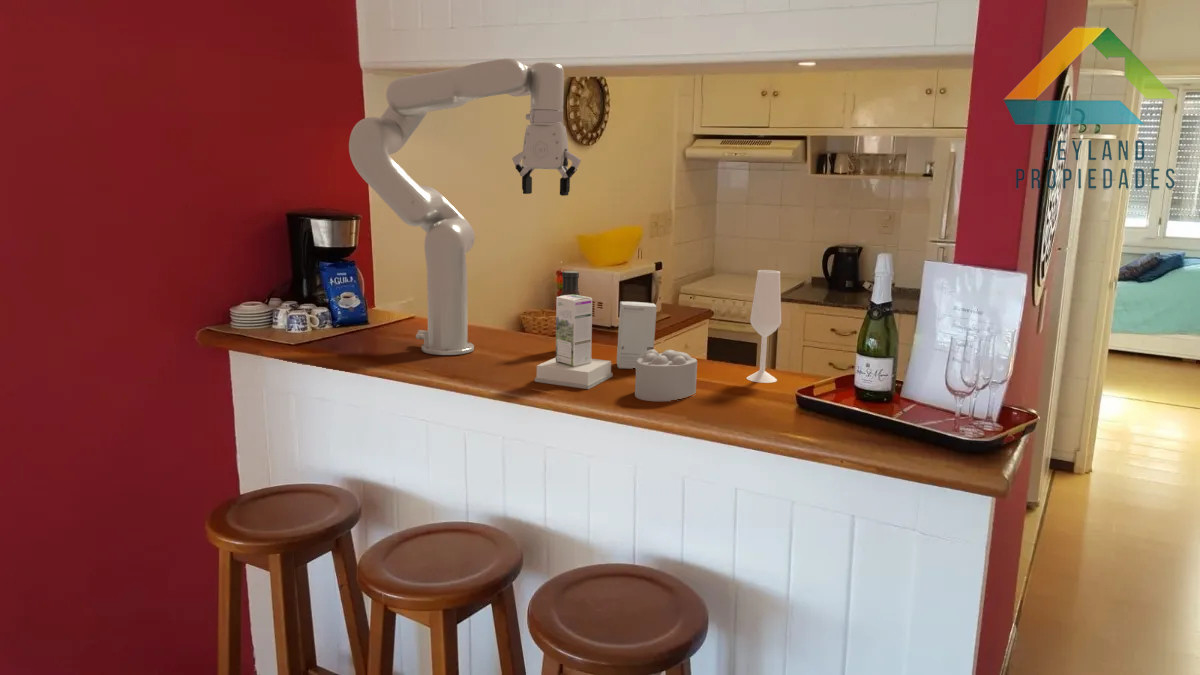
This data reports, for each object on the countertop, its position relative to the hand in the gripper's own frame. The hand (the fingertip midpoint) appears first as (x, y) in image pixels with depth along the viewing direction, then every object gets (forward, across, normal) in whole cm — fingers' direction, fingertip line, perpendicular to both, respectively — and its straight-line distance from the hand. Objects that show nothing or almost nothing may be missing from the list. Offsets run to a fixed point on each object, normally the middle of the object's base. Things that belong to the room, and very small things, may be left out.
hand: (545, 194), depth 202 cm
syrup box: (+35, +17, -18) cm, 43 cm away
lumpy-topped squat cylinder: (+39, +38, -20) cm, 58 cm away
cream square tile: (+38, +17, -18) cm, 46 cm away
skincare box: (+38, +24, 0) cm, 45 cm away
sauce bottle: (+38, +4, +6) cm, 39 cm away
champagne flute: (+38, +53, +3) cm, 66 cm away
